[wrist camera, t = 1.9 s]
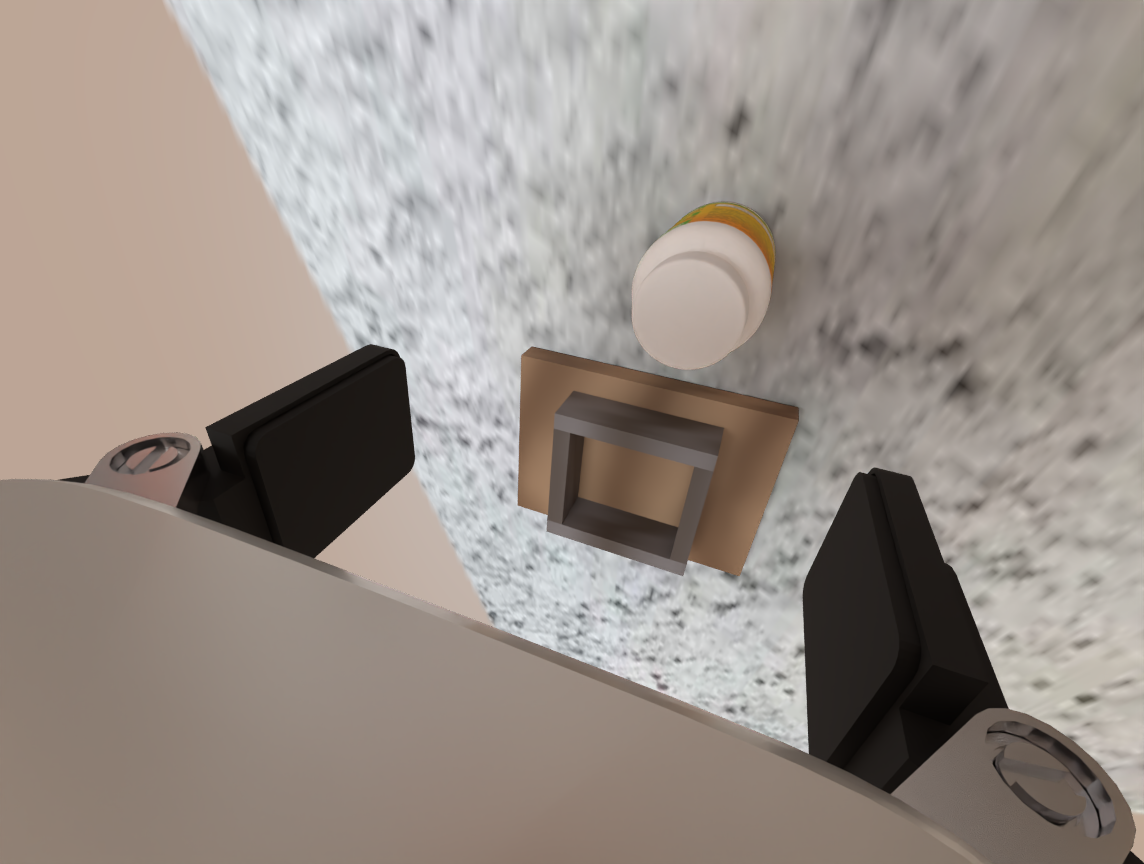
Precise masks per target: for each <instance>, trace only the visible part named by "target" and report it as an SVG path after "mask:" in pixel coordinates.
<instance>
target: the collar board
mask: <svg viewBox="0 0 1144 864" xmlns="http://www.w3.org/2000/svg"><path fill="white" fill-rule="evenodd" d="M798 421H799V409H798V407H793V406H789V405H785V404H780V403H776V402H771V401H767V400H763V399H758V398H754V397H750V396H745V395H741V394H736V393H732V392H728V391H723V390H719V389H715V388H710V387H706V386H702V385H697V384H693V383H688V382H684V381H680V380H675V379H671V378H667V377H662V376H658V375H653V374H649V373H645V372H640V371H636V370H632V369H627V368H623V367H619V366H614V365H610V364H605V363H601V362H597V361H592V360H588V359H584V358H579V357H575V356H570V355H566V354H562V353H557V352H553V351H549V350H544V349H540V348H536V347H531V348H530V349H528V350H527V351H526V352H525V353H524V354H522V355H521V394H520V435H519V475H518V506H521V507H524V508H528V509H531V510H534V511H537V512H540V513H543V514H546V515H548V519H547V532H550V533H553V534H557V535H560V536H563V537H566V538H569V539H572V540H575V541H578V542H581V543H584V544H587V545H590V546H593V547H596V548H599V549H602V550H605V551H608V552H611V553H614V554H617V555H620V556H623V557H626V558H629V559H633V560H636V561H639V562H642V563H645V564H648V565H651V566H654V567H657V568H660V569H663V570H666V571H669V572H672V573H675V574H678V575H681V576H683V575H684V571H685V568H686V564H687V561H688V560H690V561H693V562H697V563H700V564H703V565H706V566H709V567H712V568H715V569H718V570H722V571H725V572H728V573H731V574H734V575H737V576H740V573H741V571H742V568H743V566H744V563H745V560H746V558H747V555H748V552H749V550H750V547H751V545H752V542H753V539H754V537H755V534H756V531H757V529H758V526H759V524H760V521H761V518H762V516H763V513H764V510H765V508H766V505H767V503H768V500H769V497H770V495H771V492H772V489H773V487H774V484H775V482H776V479H777V476H778V474H779V471H780V468H781V466H782V463H783V461H784V458H785V455H786V453H787V450H788V447H789V445H790V442H791V440H792V437H793V434H794V432H795V429H796V426H797V424H798Z"/></svg>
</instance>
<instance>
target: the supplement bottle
mask: <svg viewBox="0 0 1144 864" xmlns="http://www.w3.org/2000/svg"><path fill="white" fill-rule="evenodd" d="M774 267H775V244H774V239H773V236H772V233H771V231H770V229H769V227H768V226H767V224H766V223H765V221H764V220H763V219H762V218H761V217H760V216H759V215H758V214H757V213H756V212H754V211H753V210H752V209H750V208H748V207H746V206H744V205H741V204H738V203H733V202H714V203H709V204H706V205H703V206H701V207H698V208H696V209H695V210H693V211H691V212H690V213H688V214H687V215H686V216H684V217H683V218H682V219H681V220H680V221H679V222H677V223H676V224H675V225H674V226H673V227H672V228H671V229H670V230H668V231H667V232H666V233H665V234H664V235H662V236H661V237H660V238H659V239H658V240H656V241H655V242H654V244H653V245H652V246H651V247H650V248H649V249H648V250H647V252H646V253H645V254H644V256H643V257H642V259H641V261H640V262H639V265H638V267H637V269H636V272H635V275H634V279H633V283H632V324H633V328H634V332H635V335H636V337H637V339H638V341H639V343H640V344H641V346H642V347H643V348H644V350H645V351H646V352H647V353H648V354H649V355H650V356H652V357H653V358H654V359H656V360H657V361H659V362H660V363H663V364H665V365H667V366H669V367H673V368H677V369H684V370H694V369H700V368H704V367H707V366H710V365H713V364H715V363H717V362H718V361H720V360H722V359H723V358H724V357H726V356H727V355H728V354H729V353H730V352H732V351H733V350H735V349H737V348H738V347H740V346H741V345H743V344H744V343H745V342H746V341H747V340H748V339H749V338H750V337H751V336H752V335H753V334H754V333H755V332H756V330H757V329H758V327H759V326H760V324H761V322H762V321H763V319H764V317H765V314H766V312H767V309H768V306H769V302H770V298H771V291H772V281H773V273H774Z"/></svg>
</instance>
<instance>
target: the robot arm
mask: <svg viewBox="0 0 1144 864" xmlns="http://www.w3.org/2000/svg"><path fill="white" fill-rule="evenodd" d="M206 430H207V433H208V436H209V439H210V441H211V444H212V446H210V447H208V448H206V449H205V450H203V448H202V445H201V443H200V441H199V440H198V439H197V438H196V437H194V436H192V435H189V434H184V433H178V432H176V433H160V434H154V435H148V436H145V437H141V438H138V439H134V440H131V441H129V442H127V443H124V444H122V445H119V446H118V447H116V448H114V449H113V450H111V451H110V452H108V453H107V454H106V455H105V456H104V457H103V458H102V459H101V460H100V461H99V463H98V464H97V465H96V467H95V468H94V470H93V471H92V473H91V474H90V475H87V476H79V477H74V478H67V479H60V480H42V479H41V480H40V479H9V480H0V864H1144V863H1143V862H1142V861H1141V860H1140V859H1139V858H1138V857H1137V856H1135V855H1134V853H1132V852H1131V851H1130V850H1131V849H1132V847H1133V843H1134V838H1135V833H1136V828H1135V824H1134V820H1133V817H1132V813H1131V809H1130V807H1129V805H1128V804H1127V802H1126V800H1125V799H1124V797H1123V795H1122V793H1121V792H1120V790H1119V788H1118V787H1117V785H1116V784H1115V783H1114V781H1113V780H1112V779H1111V778H1110V777H1109V775H1108V774H1107V773H1106V772H1105V771H1104V770H1103V768H1102V767H1101V766H1100V765H1099V764H1098V763H1097V761H1095V760H1094V759H1093V758H1092V757H1091V756H1090V755H1089V754H1088V753H1086V752H1085V751H1084V750H1083V749H1082V748H1081V747H1080V746H1079V745H1077V744H1076V743H1075V742H1074V741H1073V740H1071V739H1070V738H1068V737H1067V736H1065V735H1064V734H1062V733H1061V732H1059V731H1058V730H1056V729H1055V728H1053V727H1052V726H1050V725H1048V724H1046V723H1044V722H1042V721H1040V720H1038V719H1036V718H1034V717H1032V716H1030V715H1028V714H1025V713H1021V712H1018V711H1014V710H1010V709H1008V706H1007V703H1006V701H1005V698H1004V696H1003V693H1002V691H1001V688H1000V685H999V683H998V680H997V678H996V675H995V673H994V670H993V667H992V665H991V662H990V660H989V657H988V655H987V652H986V650H985V647H984V644H983V642H982V639H981V637H980V634H979V632H978V629H977V626H976V624H975V621H974V619H973V616H972V614H971V611H970V608H969V606H968V603H967V601H966V598H965V596H964V593H963V590H962V588H961V585H960V583H959V580H958V578H957V575H956V573H955V572H954V570H953V568H952V567H951V566H949V565H948V564H946V563H944V561H943V558H942V555H941V553H940V550H939V547H938V544H937V542H936V539H935V536H934V534H933V531H932V528H931V526H930V523H929V520H928V518H927V515H926V512H925V510H924V507H923V504H922V502H921V499H920V496H919V493H918V491H917V488H916V485H915V483H914V480H913V479H912V477H911V476H907V475H903V474H899V473H895V472H891V471H887V470H883V469H879V468H873V469H871V470H870V472H869V473H868V474H865V473H861V472H859V473H858V474H857V475H856V476H855V478H854V479H853V481H852V483H851V486H850V488H849V490H848V492H847V494H846V496H845V498H844V500H843V502H842V504H841V506H840V508H839V510H838V512H837V515H836V517H835V519H834V521H833V523H832V525H831V527H830V529H829V531H828V533H827V535H826V537H825V539H824V541H823V544H822V546H821V548H820V550H819V552H818V554H817V556H816V558H815V560H814V562H813V564H812V566H811V568H810V570H809V573H808V575H807V577H806V580H805V583H804V588H803V617H804V642H805V667H806V692H807V717H808V743H809V754H807V753H805V752H803V751H801V750H799V749H796V748H794V747H792V746H790V745H788V744H785V743H783V742H781V741H778V740H776V739H774V738H771V737H769V736H766V735H764V734H761V733H759V732H756V731H754V730H751V729H749V728H747V727H744V726H742V725H739V724H737V723H734V722H732V721H729V720H727V719H725V718H722V717H720V716H717V715H715V714H712V713H710V712H707V711H705V710H703V709H700V708H698V707H695V706H693V705H690V704H688V703H685V702H683V701H681V700H678V699H676V698H673V697H671V696H668V695H666V694H663V693H661V692H658V691H656V690H653V689H650V688H648V687H645V686H643V685H640V684H638V683H635V682H633V681H630V680H627V679H625V678H622V677H620V676H617V675H615V674H612V673H610V672H607V671H604V670H602V669H599V668H597V667H594V666H592V665H589V664H586V663H584V662H581V661H579V660H576V659H574V658H571V657H569V656H566V655H563V654H561V653H558V652H556V651H553V650H551V649H548V648H546V647H543V646H540V645H538V644H535V643H533V642H530V641H528V640H525V639H522V638H520V637H517V636H515V635H512V634H510V633H507V632H505V631H502V630H499V629H497V628H494V627H492V626H489V625H486V624H484V623H481V622H478V621H476V620H473V619H471V618H468V617H465V616H463V615H460V614H458V613H455V612H453V611H450V610H447V609H444V608H442V607H439V606H437V605H434V604H432V603H429V602H427V601H424V600H421V599H419V598H416V597H413V596H411V595H408V594H406V593H403V592H401V591H398V590H395V589H393V588H390V587H388V586H385V585H382V584H380V583H377V582H374V581H372V580H369V579H367V578H364V577H361V576H359V575H356V574H354V573H351V572H348V571H346V570H343V569H340V568H338V567H335V566H332V565H330V564H327V563H325V562H322V561H319V560H316V559H314V558H315V557H316V556H317V555H318V554H319V553H321V552H322V551H323V550H324V549H325V548H326V547H327V546H328V545H329V544H330V543H331V542H333V541H334V540H335V539H336V538H337V537H338V536H339V535H340V534H342V533H343V532H344V531H345V530H346V529H347V528H348V527H349V526H350V525H351V524H353V523H354V522H355V521H356V520H357V519H358V518H359V517H360V516H361V515H362V514H364V513H365V512H366V511H367V510H368V509H369V508H370V507H371V506H372V505H374V504H375V503H376V502H377V501H378V500H379V499H380V498H381V497H382V496H384V495H385V494H386V493H387V492H388V491H389V490H390V489H391V488H392V487H393V486H395V485H396V484H397V483H398V482H399V481H400V480H401V479H402V478H403V477H405V476H406V475H407V474H408V473H409V472H410V471H411V469H412V467H413V465H414V461H415V452H414V443H413V433H412V424H411V414H410V405H409V396H408V386H407V377H406V367H405V363H404V361H403V359H401V358H400V356H399V354H398V352H397V351H395V350H393V349H389V348H385V347H381V346H377V345H372V344H370V345H366V346H365V347H363V348H361V349H359V350H357V351H355V352H353V353H351V354H349V355H347V356H345V357H343V358H341V359H339V360H337V361H335V362H333V363H331V364H329V365H327V366H325V367H323V368H321V369H319V370H317V371H315V372H313V373H311V374H309V375H307V376H306V377H304V378H302V379H300V380H298V381H296V382H294V383H292V384H290V385H288V386H286V387H284V388H282V389H280V390H278V391H276V392H274V393H272V394H270V395H268V396H266V397H264V398H262V399H260V400H258V401H256V402H254V403H252V404H250V405H249V406H247V407H245V408H243V409H241V410H239V411H237V412H235V413H233V414H231V415H229V416H227V417H225V418H223V419H221V420H219V421H217V422H215V423H213V424H211V425H209V426H207V427H206Z"/></svg>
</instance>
